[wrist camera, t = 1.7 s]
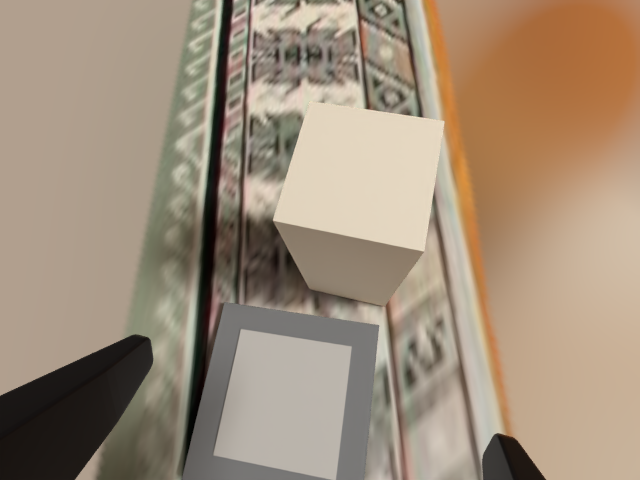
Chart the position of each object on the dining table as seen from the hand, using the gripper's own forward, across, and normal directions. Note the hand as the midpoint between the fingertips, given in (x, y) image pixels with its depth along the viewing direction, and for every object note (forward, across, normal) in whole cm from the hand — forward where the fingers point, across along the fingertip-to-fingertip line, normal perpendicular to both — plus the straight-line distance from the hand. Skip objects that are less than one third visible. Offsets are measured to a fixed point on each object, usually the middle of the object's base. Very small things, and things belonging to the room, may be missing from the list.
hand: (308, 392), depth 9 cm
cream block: (+14, 0, +4) cm, 15 cm away
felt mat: (+8, +2, +11) cm, 13 cm away
